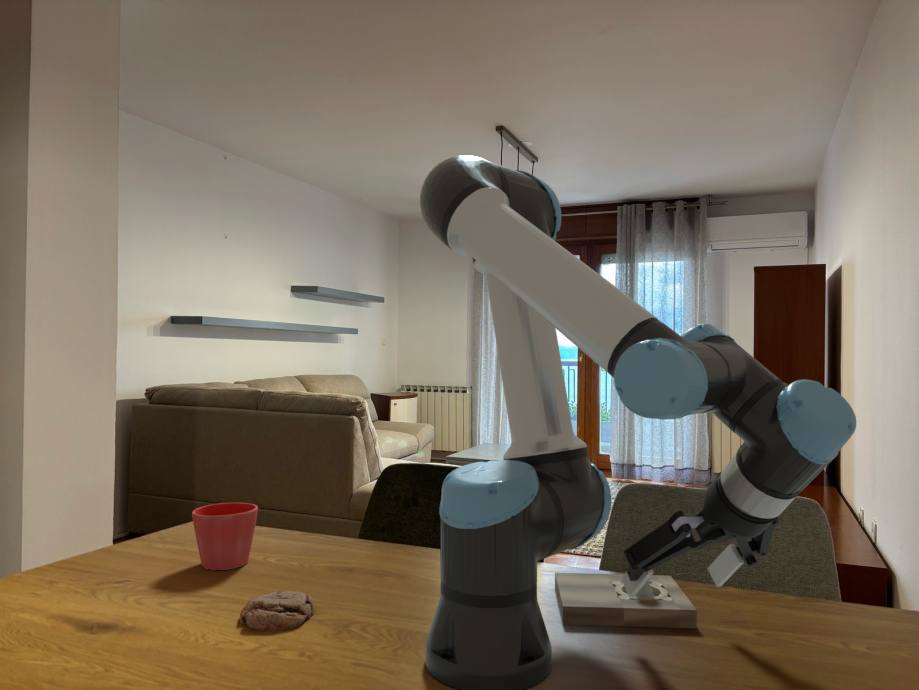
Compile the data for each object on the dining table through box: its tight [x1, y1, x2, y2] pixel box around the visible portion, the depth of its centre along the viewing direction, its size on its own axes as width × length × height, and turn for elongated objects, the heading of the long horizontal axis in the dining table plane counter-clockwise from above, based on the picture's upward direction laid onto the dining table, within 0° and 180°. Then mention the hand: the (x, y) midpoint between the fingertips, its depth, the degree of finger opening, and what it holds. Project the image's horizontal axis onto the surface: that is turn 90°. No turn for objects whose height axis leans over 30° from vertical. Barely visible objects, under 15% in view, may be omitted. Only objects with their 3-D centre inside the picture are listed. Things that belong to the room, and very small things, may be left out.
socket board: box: [554, 572, 698, 630], centre depth 98 cm, size 14×18×2 cm
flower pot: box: [191, 502, 259, 571], centre depth 117 cm, size 11×11×10 cm
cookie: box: [239, 590, 315, 632], centre depth 94 cm, size 10×11×3 cm
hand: (671, 582), depth 90 cm, fingers open, 13 cm apart
